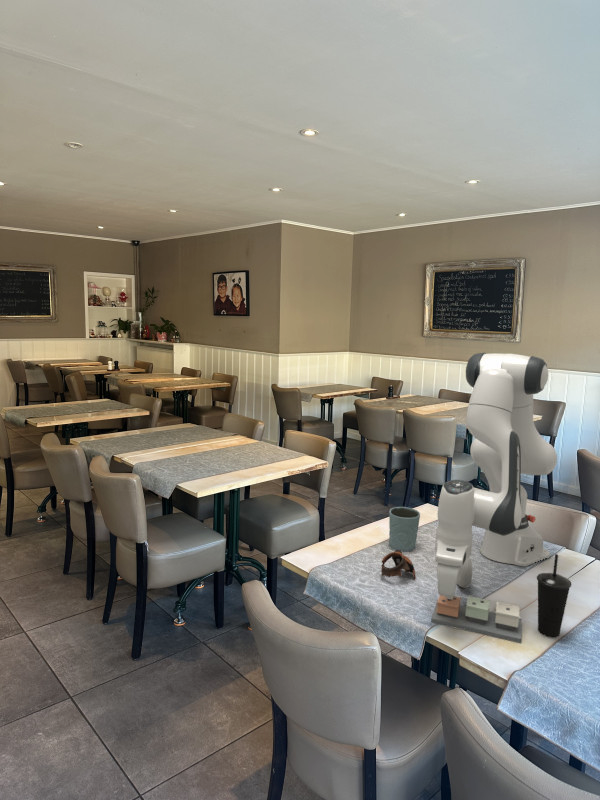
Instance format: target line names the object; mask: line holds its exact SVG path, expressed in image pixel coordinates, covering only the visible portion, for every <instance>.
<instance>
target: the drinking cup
mask: <svg viewBox="0 0 600 800" xmlns="http://www.w3.org/2000/svg"><path fill="white" fill-rule="evenodd" d="M558 560H559V554H557V553H555V554H554V562H553V570H552V571H553V572H541V573H538V574H537V576H536V580H537V632H539V634H541V635H542V636H545V637H548V638H551V639H552V638H558V637H559V636H560V633H561V629H562V625H563V619H564V615H565V611H566V605H567V601H568V596H569V592H570V588H571V587H572V582H571V580H570V579H569V578H567V577H566V576H563V575H561V574H559V573H557V569H558Z"/></svg>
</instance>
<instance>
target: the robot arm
mask: <svg viewBox="0 0 600 800" xmlns="http://www.w3.org/2000/svg"><path fill="white" fill-rule="evenodd" d="M548 369H549V368H548V365H547V363H546V362H545V360H544V359H543V358H541V357H538V356H533V355H532V356H531V355H530V356H529V355H528V356H527V355H524V354H523V355H522V354H517V353H516V354H515V353H487V352H478V353H474V354H473V355H472V356H471V357H469V359H468V360H467V363H466V367H465V380H466V382H467V383H468V385H469V386H470V387H472V388H473V389H472V392H471V394H470V398H469V402H468V405H467V410H466V417H465V418H466V419H465V424H466V428H467V430H468V431H469V433H470V434H471V435H472V436H473V437H474V439H473V441H472V443H471V445H470V451H469V452H470V456H471V457H470V458H471V459H472V462H474V463H475V464H476V465H477V466H478V467H479V468H480V469H481V471H482V472H483V474H484V476H485V478H486V479H487V483H488V487H489V491H488V490H484V489H481V488H477V487H474V486H473V484H472V483H471V482H469V481H467V480H463V479H452V480H448V481H446V482H444V483H443V485H442V487H441V491H440V495H439V500H438V506H437V519H438V526H437V527H436V533H435V548H434V549H435V550H434V551H435V559H434V561H435V563H437V571H436V572H437V573H436V574H437V576H436V577H437V592H438V595H439V596H440V595H442V596H446V598H447V599H453V596H455V593H456V590H457V589H456V588H457V585H458V584H457V582H458V579H459V575H460V572H461V568H462V566H463V564H464V562H465V561H466V559H467V558H468V557H470V558H471V556H472V553H473V552H472V551H473V536H474V533H473V529H472V528H473V527H475V528H480V529H482V530H484V535H483V540H481V541H482V542H481V546H480V549H479V552H480V554H481V555H483V556H484V557H485V558H487V559H489V560H491V561H495V562H499V563H503V564H508V565H509V564H511V565H515V566H518V567H528V566H530V565H533V564H535V562H536V563H539V562H541V561H543V559H544V560H546V559H545V558H547V559H549V558H548V557H550V556H552V555H551V552H550V551H548V549H545V548H544V540H543V537H542V535H540V534H539V533H538V532H537V531H536V530H535V529H534V528H533V527H532V526H531V525H530V524H529V522H530V523H532V524H533V523H535V522H536V516H534V515H532V514H527V513H526V512H527V503H528V502H527V501H528V493H527V490H526V489H525V488H524V486H523V485H521V479H522V478H521V475H530V476H545V475H546V476H547V475H549V474H551V472H553V470H554V469H555V467H556V466H557V463H558V462H557V461H558V456H557V455H558V454H557V452H556V450H555V447H554V446H553V445H552V444H550V443H549V442H548V441H547V440H546V439H544V438H543V437H542V435H541V434H540V433H539V431H538V430H537V427H536V425H535V422H534V395H536V394H537V395H538V394H539V393H541V392H542V391H543V390H544V389H545V386H546V385H547V384H548V380H549V370H548ZM550 558H551V557H550ZM540 560H541V561H540ZM538 561H539V562H538Z"/></svg>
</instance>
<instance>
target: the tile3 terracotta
mask: <svg viewBox="0 0 600 800" xmlns="http://www.w3.org/2000/svg"><path fill="white" fill-rule="evenodd" d="M437 600H438V602H437V601H436V603H437V613H440V614H445V615H449V616H453V617H458V614H459V610H460V605H461V600H462V597H461V596H455V595H454V596H453V599H447V598H446V596H442V595H440V594H439V596H438V599H437Z"/></svg>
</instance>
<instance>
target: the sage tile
mask: <svg viewBox="0 0 600 800" xmlns="http://www.w3.org/2000/svg"><path fill="white" fill-rule="evenodd" d="M490 601H491V600H489V599H485V598H480V597H475V596H471V595H468V596H467V599H466V604H465V605H466V615H465V616H468V617H473V618H477V619H482V620H486V621H487V620H488V613H489V611H490V605H491V604H490V603H491V602H490Z"/></svg>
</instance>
